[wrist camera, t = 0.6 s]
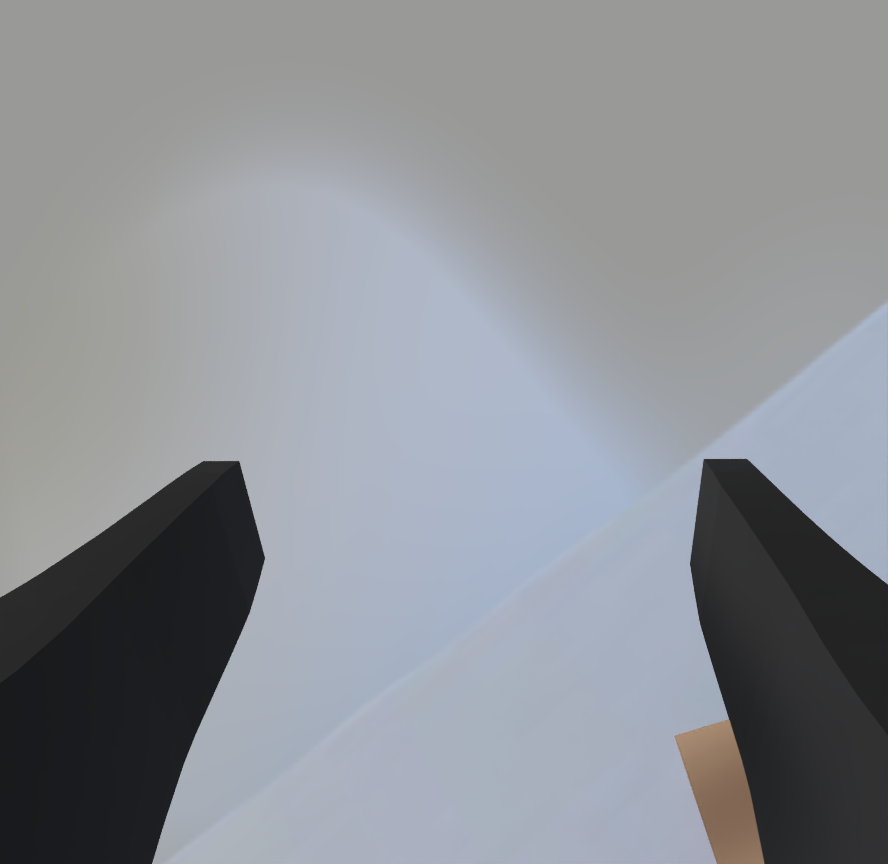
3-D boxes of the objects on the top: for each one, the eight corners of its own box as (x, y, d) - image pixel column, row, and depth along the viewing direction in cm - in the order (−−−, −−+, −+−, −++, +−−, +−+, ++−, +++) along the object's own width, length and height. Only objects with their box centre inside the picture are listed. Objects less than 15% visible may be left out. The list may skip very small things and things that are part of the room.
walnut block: (949, 898, 19) (950, 893, 16) (777, 933, 21) (740, 936, 17) (863, 722, 22) (847, 683, 18) (716, 764, 24) (674, 736, 20)
